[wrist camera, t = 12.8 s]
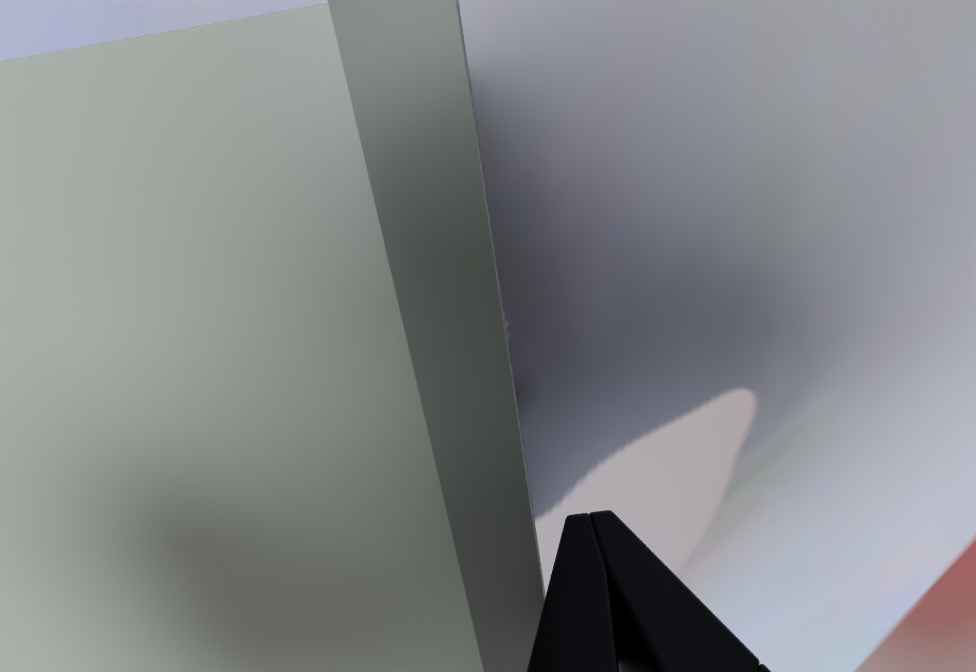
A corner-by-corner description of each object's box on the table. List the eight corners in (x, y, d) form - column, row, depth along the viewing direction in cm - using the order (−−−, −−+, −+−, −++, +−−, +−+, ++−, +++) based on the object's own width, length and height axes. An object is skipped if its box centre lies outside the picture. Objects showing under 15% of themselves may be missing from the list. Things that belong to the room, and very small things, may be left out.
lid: (456, -8, 7) (445, -67, 5) (568, 752, 13) (583, 867, 11) (-429, 149, 7) (-785, 159, 5) (98, 798, 14) (32, 915, 12)
